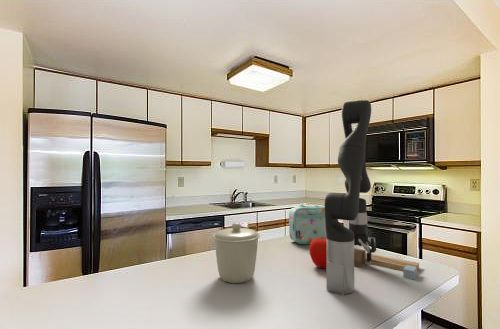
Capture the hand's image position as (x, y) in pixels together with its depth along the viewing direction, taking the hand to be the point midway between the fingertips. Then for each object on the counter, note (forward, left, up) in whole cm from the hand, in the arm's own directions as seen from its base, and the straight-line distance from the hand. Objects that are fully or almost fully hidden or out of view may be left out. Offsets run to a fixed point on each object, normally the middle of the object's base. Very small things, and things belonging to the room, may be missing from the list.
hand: (358, 259), depth 120 cm
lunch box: (+19, +33, -2) cm, 38 cm away
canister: (-46, +30, -2) cm, 55 cm away
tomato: (-14, +10, -2) cm, 17 cm away
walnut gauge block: (0, 0, -2) cm, 2 cm away
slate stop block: (0, -20, -2) cm, 20 cm away
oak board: (+8, -8, -2) cm, 11 cm away
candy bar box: (-29, +42, -2) cm, 51 cm away
